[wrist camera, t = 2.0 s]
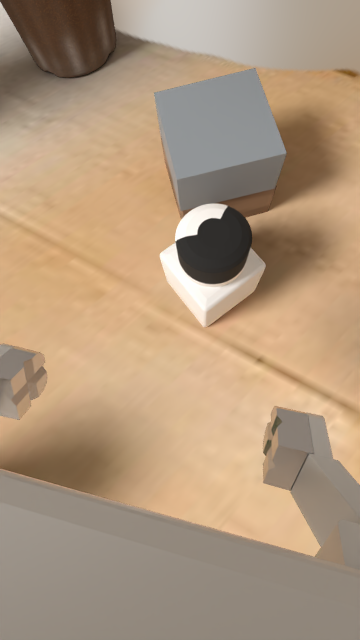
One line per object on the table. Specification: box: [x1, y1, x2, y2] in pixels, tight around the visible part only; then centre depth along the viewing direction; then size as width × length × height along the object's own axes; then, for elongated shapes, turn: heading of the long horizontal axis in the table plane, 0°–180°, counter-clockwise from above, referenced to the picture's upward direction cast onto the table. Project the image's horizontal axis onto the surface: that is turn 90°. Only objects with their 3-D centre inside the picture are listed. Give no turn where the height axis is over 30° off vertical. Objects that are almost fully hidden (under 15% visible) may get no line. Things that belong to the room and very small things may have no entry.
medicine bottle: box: [160, 203, 266, 327], centre depth 31 cm, size 7×7×12 cm
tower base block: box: [161, 138, 276, 220], centre depth 38 cm, size 10×10×5 cm
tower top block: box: [154, 68, 287, 211], centre depth 33 cm, size 10×10×5 cm
